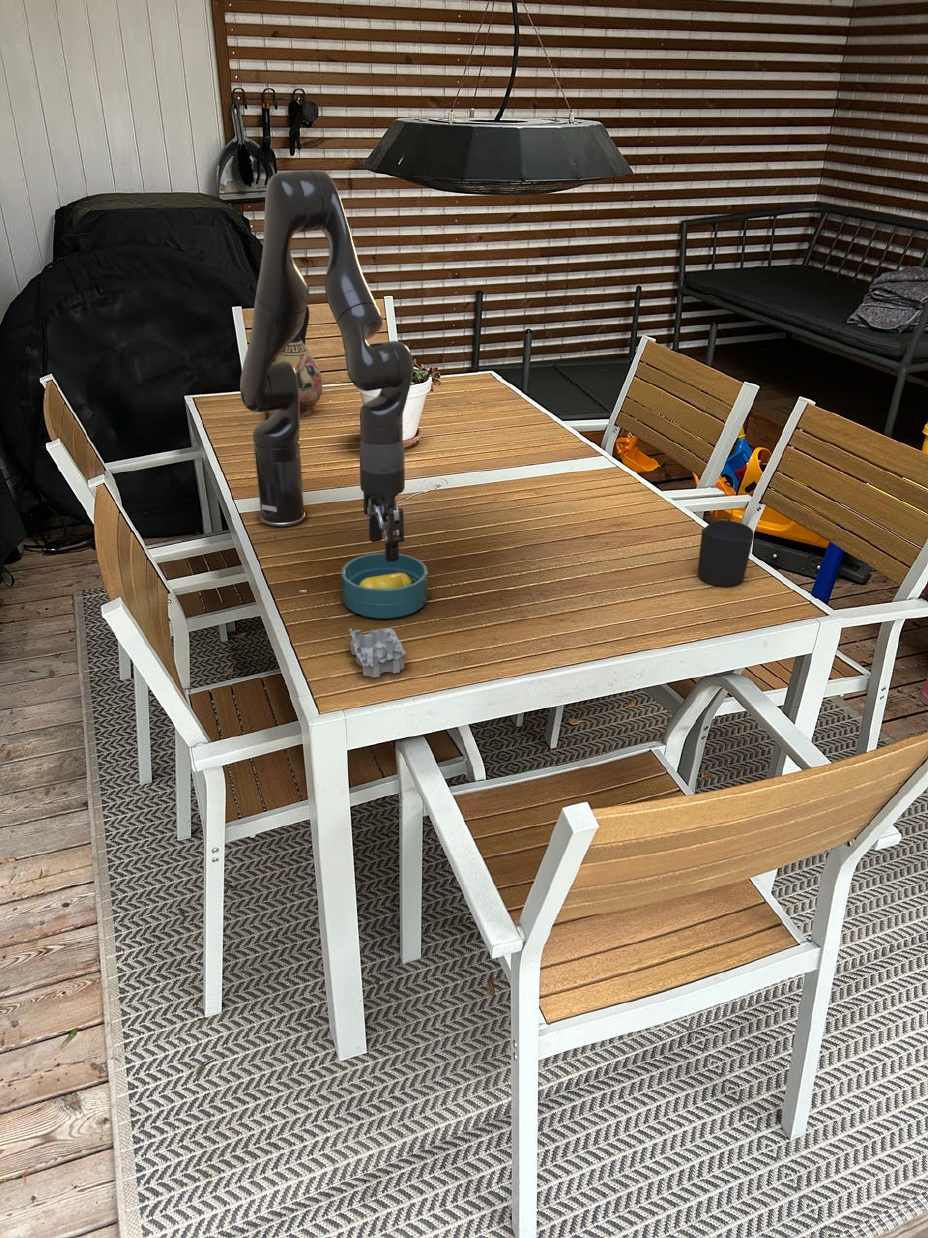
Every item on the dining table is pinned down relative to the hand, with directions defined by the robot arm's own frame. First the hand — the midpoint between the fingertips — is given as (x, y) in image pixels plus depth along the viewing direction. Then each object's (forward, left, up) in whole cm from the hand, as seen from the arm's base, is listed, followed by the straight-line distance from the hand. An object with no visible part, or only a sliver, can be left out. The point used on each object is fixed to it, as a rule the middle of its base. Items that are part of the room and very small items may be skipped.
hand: (383, 550), depth 168 cm
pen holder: (+15, +63, -10) cm, 66 cm away
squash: (0, 0, -9) cm, 9 cm away
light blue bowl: (0, 0, -10) cm, 10 cm away
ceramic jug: (-116, +15, -10) cm, 117 cm away
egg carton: (+19, -8, -10) cm, 23 cm away
